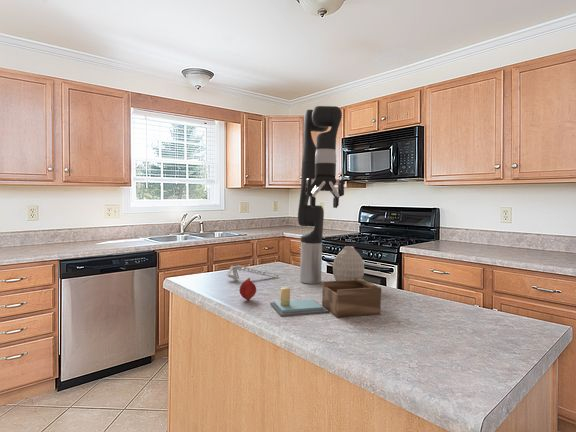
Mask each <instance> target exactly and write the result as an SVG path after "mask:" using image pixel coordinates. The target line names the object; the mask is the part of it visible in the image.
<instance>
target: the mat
mask: <svg viewBox="0 0 576 432" xmlns="http://www.w3.org/2000/svg"><path fill="white" fill-rule="evenodd" d="M313 300H314V301H316V300H315V299H313ZM316 302H317V303H318V304H320V303H319V302H318V301H316ZM269 305H270V306H271V308H273V310H275V312H276V313H277V314H278V315H279V316H280V317H291V316H303V315H315V314H316V315H317V314H318V315H319V314H326V313H327V314H328V313H330V312H329V311H328V310H327V309H326V308H324V307H323V306H322V304H320V305H321V306H322V307H323V310H310V311H298V312H285V313H282V312H281V311H280V310H279V309H278V308H277V306H276V305H275V304H274V301H273V302H270V304H269Z"/></svg>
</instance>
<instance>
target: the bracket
mask: <svg viewBox="0 0 576 432" xmlns="http://www.w3.org/2000/svg"><path fill="white" fill-rule="evenodd" d="M240 271H243V272H247V273H251V274H256V275H261V276H265V277H269V278H274V279H277V278H278V277H279V273H272V272H268V271H267V270H266V271H262V270H258V269H255V268H251V267H247V266H243V265H239V264H238V265H231V266H230V267H229V270H228V271H227V274H226V276H227V277H228V278H231V279H232V280H234V281H236V282H237V281H239V279H240V276H239V274H238V272H240ZM231 273H232V274H231ZM266 273H267V274H266ZM269 274H270V275H269ZM273 275H275V276H273Z"/></svg>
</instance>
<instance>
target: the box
mask: <svg viewBox="0 0 576 432" xmlns="http://www.w3.org/2000/svg"><path fill="white" fill-rule="evenodd" d="M321 299H322V300H321V301H322V304H321V305H322V306H323V307H324V308H326V309H327V310H328V311H329V313H330V314H332V315H333V316H334V317H335V318H337V319H341V318H353V317H364V316H376V315H381V307H382V306H381V305H382V302H381V301H382V287H381V286H379V285H376V284H374V283H372V282H370V281H368V280H365V279H363V278H362V279H361V278H359V277H354V280H340V281H336V280H326V281H325V280H324V281H322V298H321Z"/></svg>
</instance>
